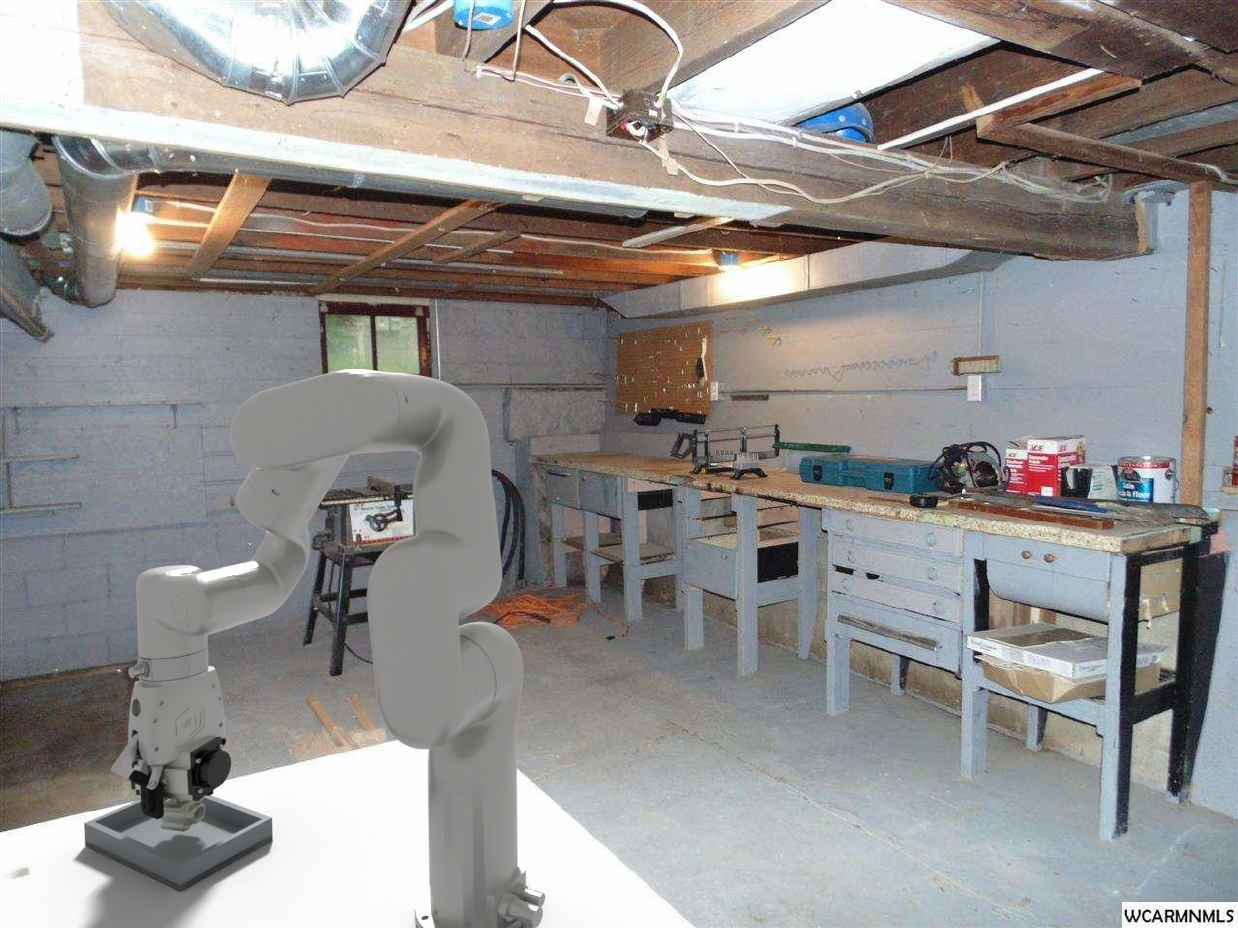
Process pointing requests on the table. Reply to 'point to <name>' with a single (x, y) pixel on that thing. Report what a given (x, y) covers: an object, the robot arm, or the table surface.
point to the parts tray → (179, 841)
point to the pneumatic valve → (190, 782)
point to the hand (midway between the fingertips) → (179, 802)
